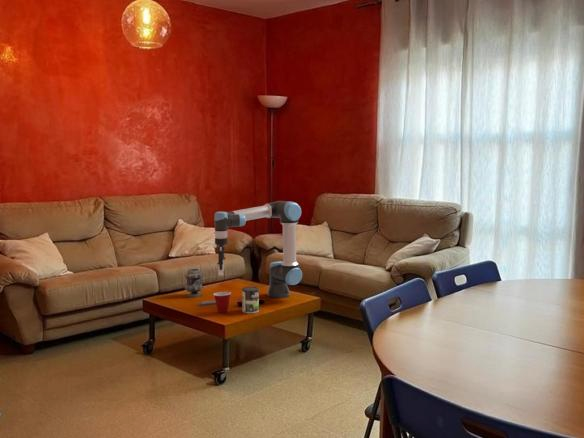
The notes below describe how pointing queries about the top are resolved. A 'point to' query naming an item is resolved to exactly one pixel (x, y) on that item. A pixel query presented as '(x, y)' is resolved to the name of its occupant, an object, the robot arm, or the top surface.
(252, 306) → the coffee can
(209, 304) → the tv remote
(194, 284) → the apothecary jar
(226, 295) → the plastic cup
